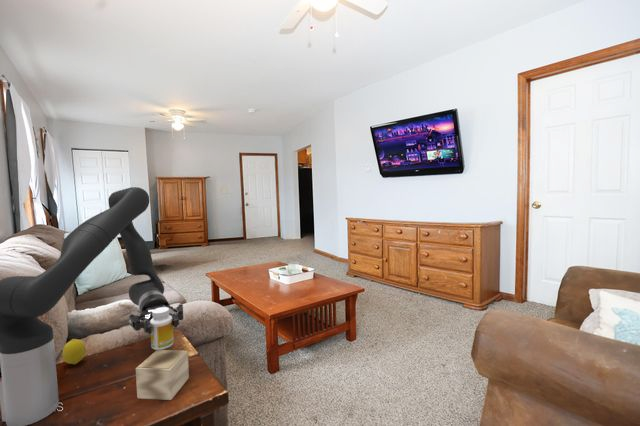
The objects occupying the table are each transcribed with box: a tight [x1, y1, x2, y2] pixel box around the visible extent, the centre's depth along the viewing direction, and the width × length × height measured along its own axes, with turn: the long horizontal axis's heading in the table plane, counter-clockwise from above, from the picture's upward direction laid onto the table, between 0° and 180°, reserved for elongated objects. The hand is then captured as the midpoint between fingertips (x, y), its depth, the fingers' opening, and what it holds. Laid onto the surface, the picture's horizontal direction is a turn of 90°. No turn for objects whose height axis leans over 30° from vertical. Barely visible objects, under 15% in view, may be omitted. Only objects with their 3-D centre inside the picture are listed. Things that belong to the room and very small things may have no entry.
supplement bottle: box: [149, 307, 175, 351], centre depth 81 cm, size 5×5×10 cm
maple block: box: [135, 349, 190, 401], centre depth 82 cm, size 9×9×8 cm
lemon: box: [61, 338, 87, 365], centre depth 93 cm, size 6×6×8 cm
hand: (163, 326), depth 79 cm, fingers closed on supplement bottle, 5 cm apart
